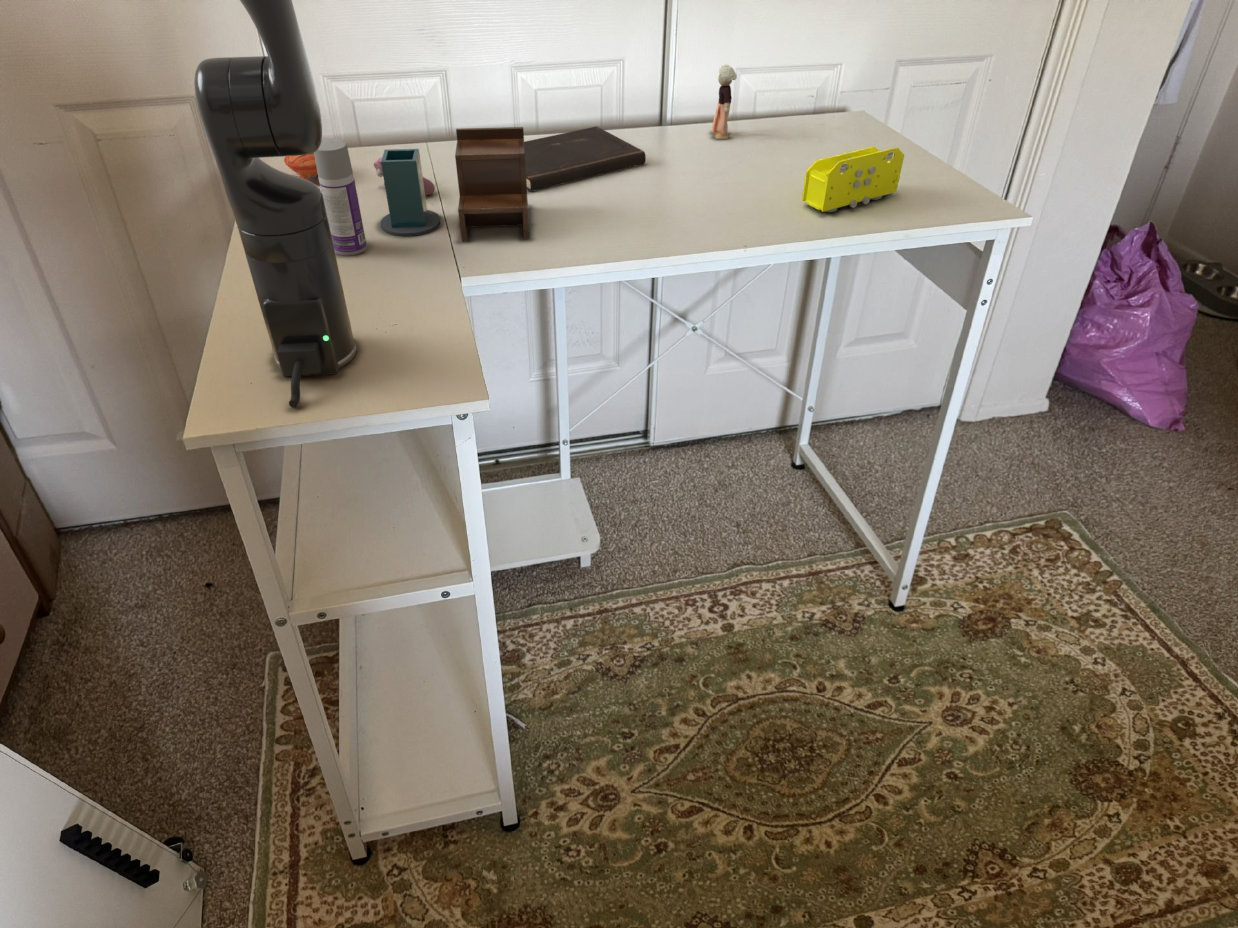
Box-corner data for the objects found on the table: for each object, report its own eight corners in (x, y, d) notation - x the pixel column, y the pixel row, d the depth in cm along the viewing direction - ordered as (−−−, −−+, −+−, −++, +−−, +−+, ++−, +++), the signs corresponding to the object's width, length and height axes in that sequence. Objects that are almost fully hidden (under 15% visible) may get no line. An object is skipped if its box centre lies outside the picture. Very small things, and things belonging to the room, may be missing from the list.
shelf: (529, 239, 129) (524, 155, 121) (461, 241, 128) (452, 157, 120) (528, 206, 138) (523, 127, 130) (464, 208, 137) (456, 128, 129)
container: (353, 238, 129) (333, 136, 119) (373, 247, 126) (354, 144, 117) (327, 249, 126) (304, 145, 116) (347, 258, 123) (325, 153, 114)
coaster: (438, 235, 130) (438, 232, 129) (377, 237, 129) (377, 234, 129) (442, 210, 137) (441, 207, 136) (384, 212, 136) (383, 209, 136)
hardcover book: (486, 163, 153) (485, 149, 151) (596, 138, 163) (596, 126, 161) (531, 193, 142) (530, 179, 141) (645, 165, 152) (646, 152, 151)
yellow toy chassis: (823, 218, 136) (832, 165, 130) (799, 205, 139) (807, 153, 134) (897, 197, 142) (908, 146, 137) (872, 186, 146) (882, 135, 141)
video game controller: (386, 192, 146) (363, 160, 140) (404, 174, 147) (382, 141, 141) (420, 210, 140) (398, 177, 135) (439, 190, 141) (418, 157, 136)
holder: (425, 226, 131) (416, 160, 124) (391, 227, 130) (380, 162, 124) (427, 213, 135) (418, 148, 128) (395, 214, 134) (384, 149, 128)
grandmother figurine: (706, 130, 167) (711, 60, 159) (725, 129, 167) (731, 59, 159) (716, 144, 161) (722, 72, 153) (736, 143, 161) (743, 71, 153)
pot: (336, 163, 151) (330, 128, 145) (339, 190, 146) (332, 155, 141) (287, 166, 149) (279, 130, 144) (289, 193, 144) (281, 157, 139)
